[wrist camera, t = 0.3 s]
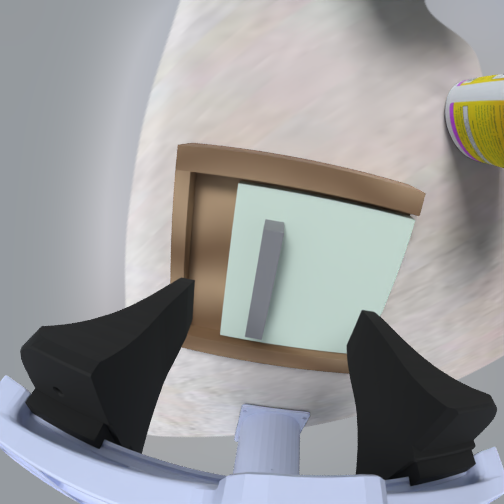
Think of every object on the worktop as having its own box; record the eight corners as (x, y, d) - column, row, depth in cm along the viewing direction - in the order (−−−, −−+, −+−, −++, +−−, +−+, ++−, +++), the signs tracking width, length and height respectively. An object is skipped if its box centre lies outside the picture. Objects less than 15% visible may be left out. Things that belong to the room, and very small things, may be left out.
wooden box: (349, 352, 25) (354, 373, 22) (181, 324, 26) (171, 344, 23) (408, 184, 18) (425, 193, 16) (192, 142, 19) (177, 144, 16)
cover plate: (359, 347, 23) (366, 371, 20) (222, 327, 23) (214, 351, 20) (409, 215, 18) (427, 229, 15) (240, 180, 18) (233, 189, 16)
